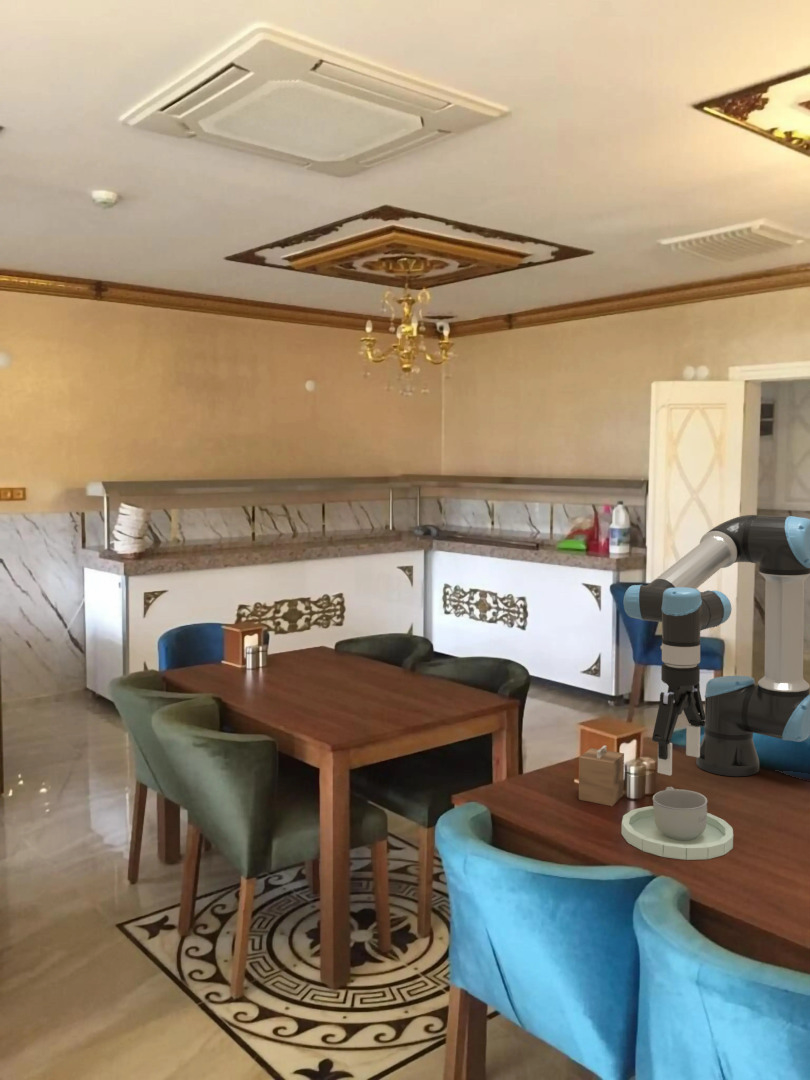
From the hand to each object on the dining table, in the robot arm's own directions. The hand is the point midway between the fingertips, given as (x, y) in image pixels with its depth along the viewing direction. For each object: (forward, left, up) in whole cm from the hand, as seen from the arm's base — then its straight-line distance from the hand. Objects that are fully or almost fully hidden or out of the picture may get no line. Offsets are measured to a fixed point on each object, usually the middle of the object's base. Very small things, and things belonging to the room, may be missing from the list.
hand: (679, 764), depth 190 cm
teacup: (0, 0, -15) cm, 15 cm away
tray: (0, 0, -15) cm, 15 cm away
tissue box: (-10, -23, -15) cm, 29 cm away
